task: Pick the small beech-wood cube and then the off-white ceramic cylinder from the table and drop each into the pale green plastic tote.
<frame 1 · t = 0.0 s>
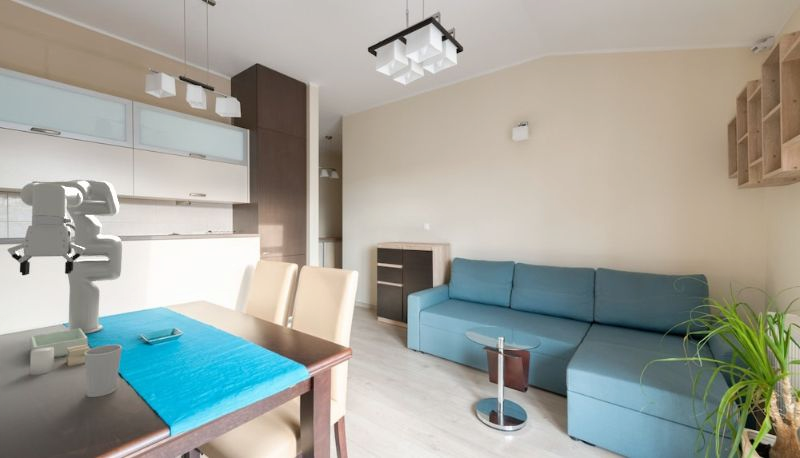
hand: (47, 274, 105), 31 cm above the table, tool pointing down, fingers open, 9 cm apart
tote: (58, 350, 120), on the table
cup: (102, 392, 92), on the table
beech cube: (77, 362, 111), on the table
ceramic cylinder: (41, 371, 103), on the table
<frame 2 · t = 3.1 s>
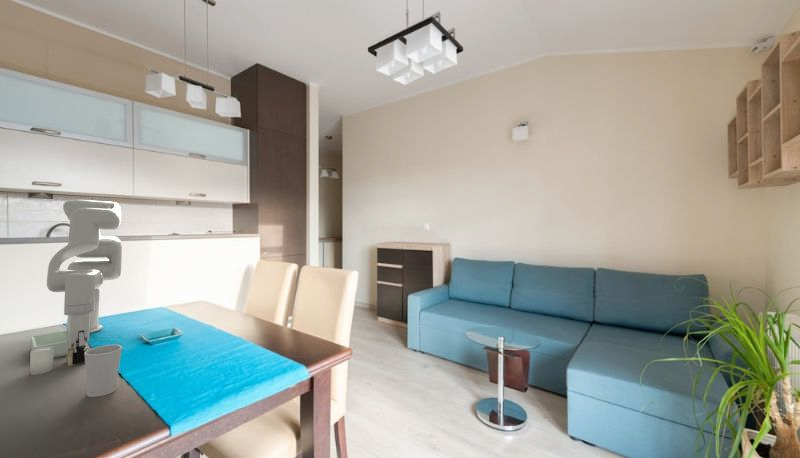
hand: (77, 360, 111), 0 cm above the table, tool pointing down, fingers closed on beech cube, 5 cm apart
beech cube: (77, 361, 111), on the table, touching gripper
everything else where it was.
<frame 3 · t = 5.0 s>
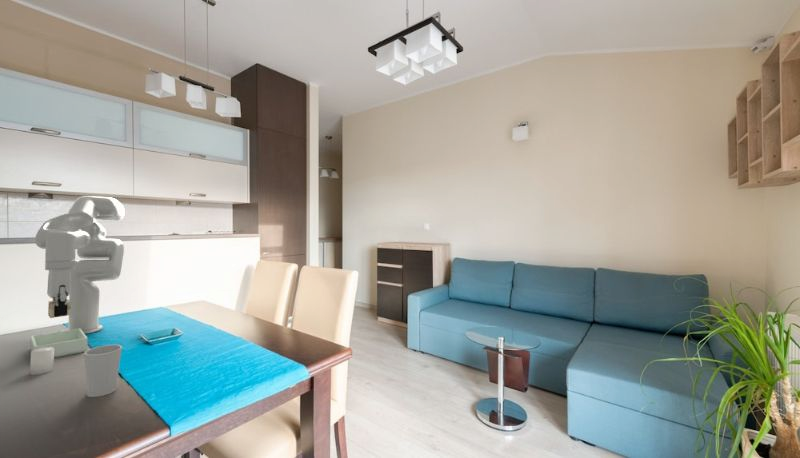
hand: (59, 313, 117), 15 cm above the table, tool pointing down, fingers closed on beech cube, 5 cm apart
beech cube: (59, 315, 117), point 14 cm above the table, touching gripper
everything else where it was.
when the fingers open (6 cm above the table, at t = 7.2 s): beech cube drops 5 cm, resting on tote.
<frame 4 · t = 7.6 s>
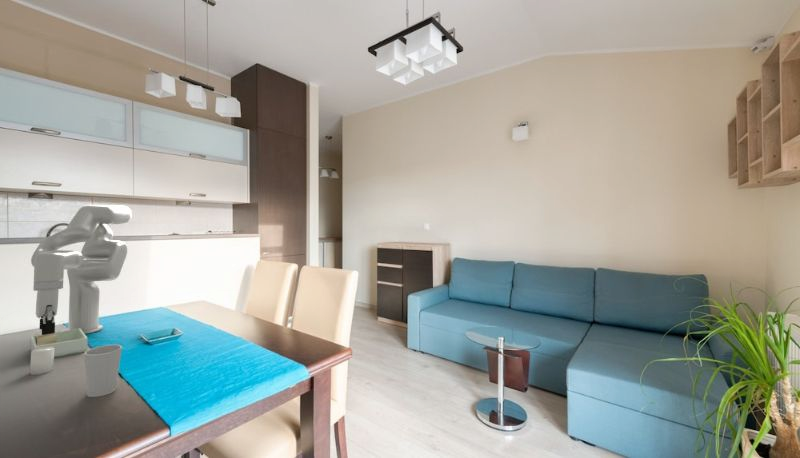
hand: (47, 331, 120), 7 cm above the table, tool pointing down, fingers open, 9 cm apart
beech cube: (46, 348, 120), point 1 cm above the table, touching tote
everything else where it was.
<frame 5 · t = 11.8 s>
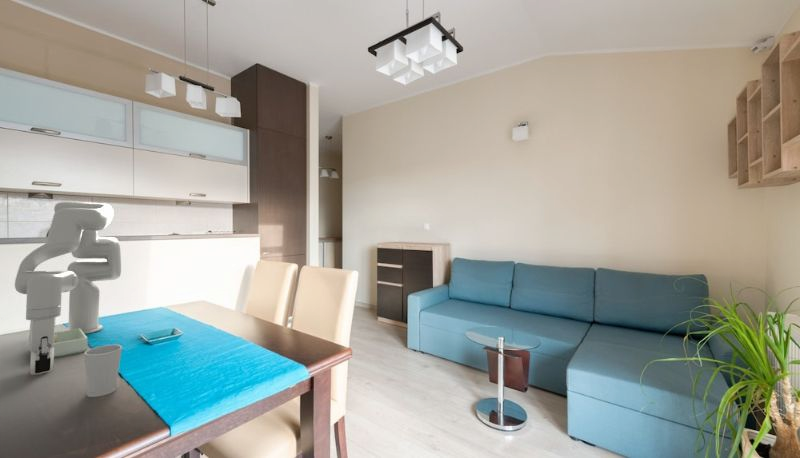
hand: (41, 368, 103), 1 cm above the table, tool pointing down, fingers closed on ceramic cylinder, 5 cm apart
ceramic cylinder: (41, 371, 103), on the table, touching gripper
everything else where it was.
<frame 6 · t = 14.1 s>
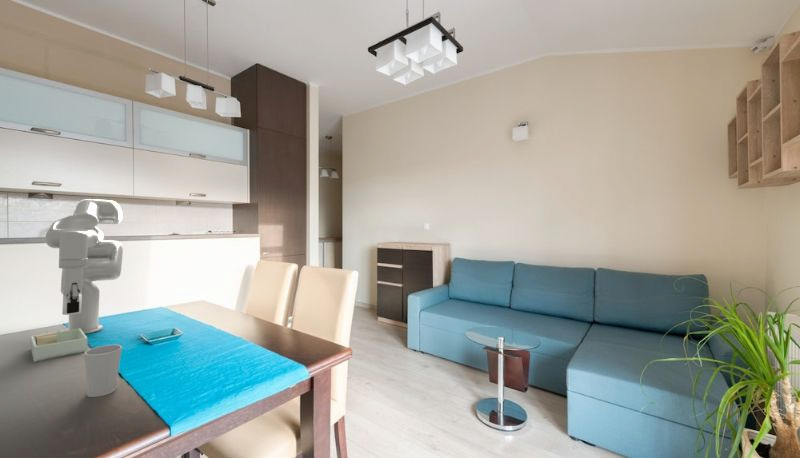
hand: (71, 310, 121), 15 cm above the table, tool pointing down, fingers closed on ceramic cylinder, 5 cm apart
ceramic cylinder: (71, 312, 121), point 14 cm above the table, touching gripper
everything else where it was.
when the fingers open (5 cm above the table, at t = 16.2 s): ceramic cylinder drops 3 cm, resting on tote.
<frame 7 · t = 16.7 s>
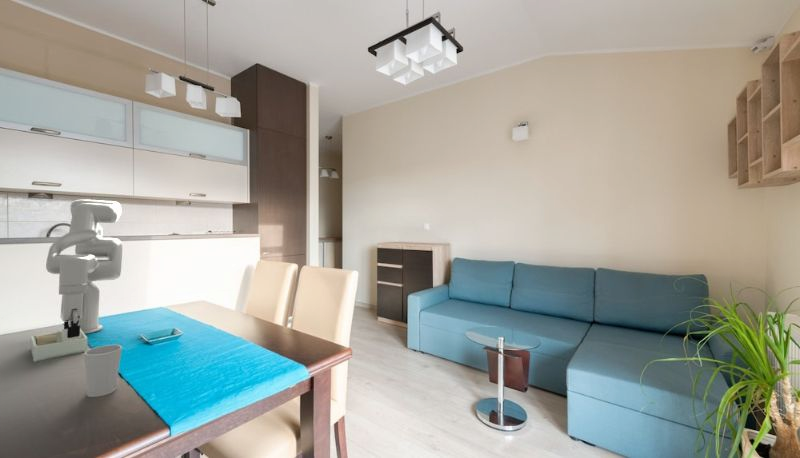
hand: (71, 334, 121), 6 cm above the table, tool pointing down, fingers open, 9 cm apart
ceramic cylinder: (71, 347, 121), point 1 cm above the table, touching tote
everything else where it was.
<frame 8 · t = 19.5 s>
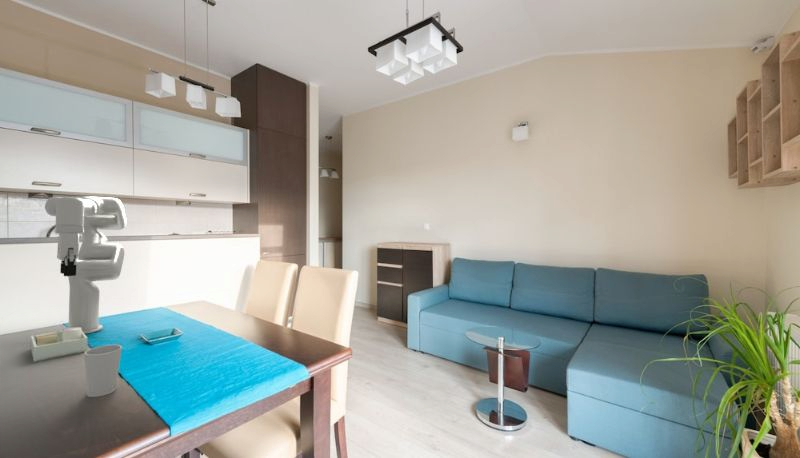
hand: (68, 274, 122), 28 cm above the table, tool pointing down, fingers open, 9 cm apart
nothing on the table moved.
at the end: beech cube inside the target area on the tote (4.4 cm from its centre), point 0.6 cm above the tote's base; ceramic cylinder inside the target area on the tote (3.6 cm from its centre), point 0.6 cm above the tote's base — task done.
